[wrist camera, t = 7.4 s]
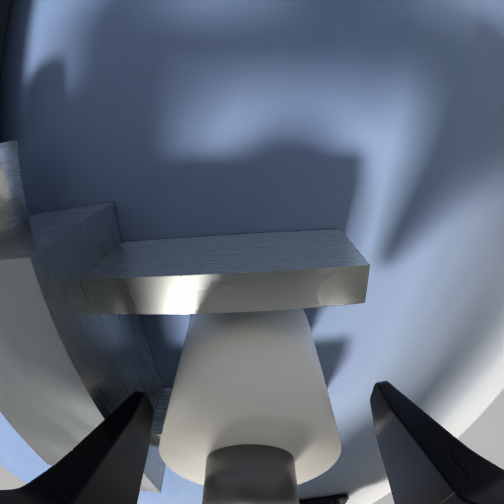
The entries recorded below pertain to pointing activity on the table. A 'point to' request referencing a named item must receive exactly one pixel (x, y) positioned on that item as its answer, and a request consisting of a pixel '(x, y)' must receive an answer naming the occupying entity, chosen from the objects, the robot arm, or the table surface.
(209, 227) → the table surface
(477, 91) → the table surface
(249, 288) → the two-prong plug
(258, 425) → the white cylinder
